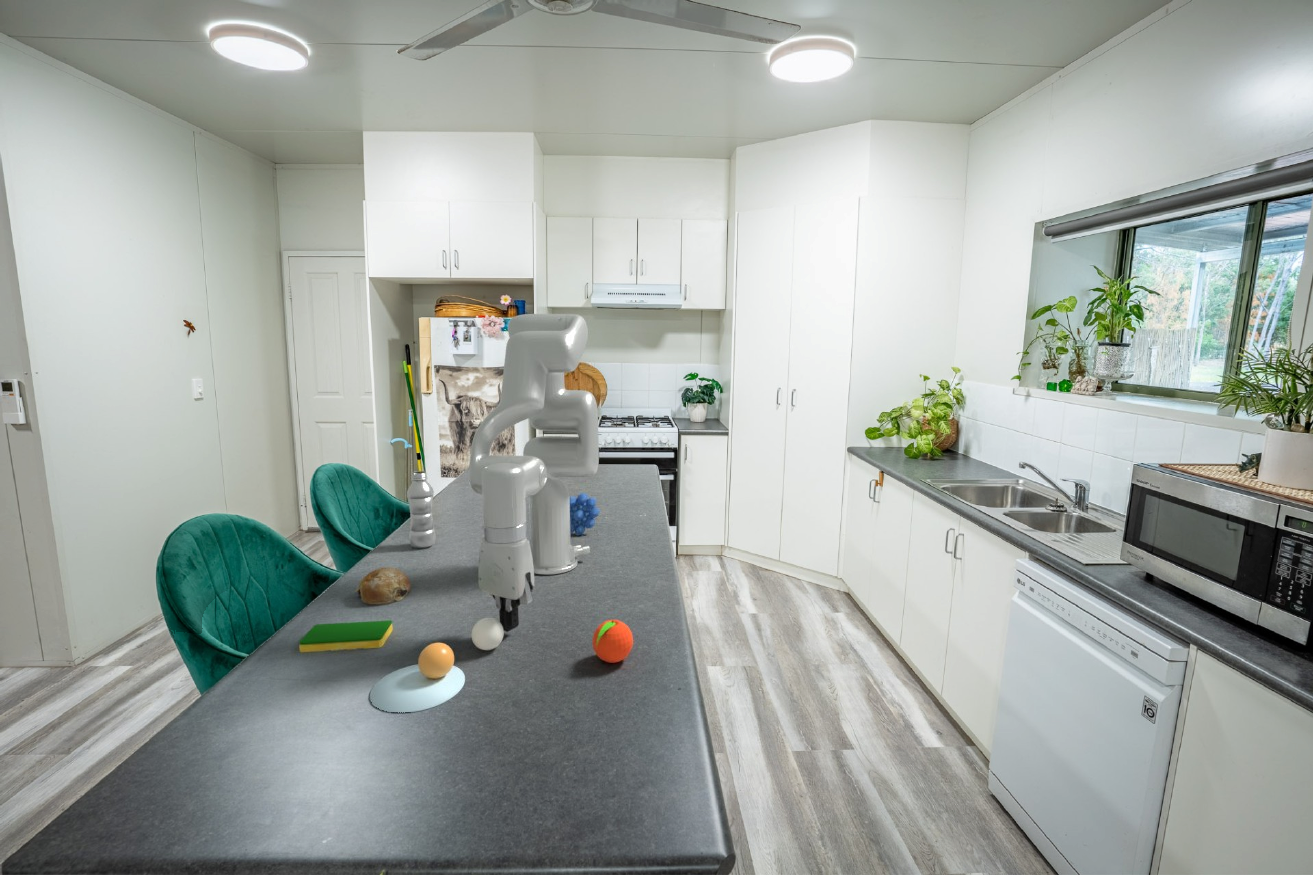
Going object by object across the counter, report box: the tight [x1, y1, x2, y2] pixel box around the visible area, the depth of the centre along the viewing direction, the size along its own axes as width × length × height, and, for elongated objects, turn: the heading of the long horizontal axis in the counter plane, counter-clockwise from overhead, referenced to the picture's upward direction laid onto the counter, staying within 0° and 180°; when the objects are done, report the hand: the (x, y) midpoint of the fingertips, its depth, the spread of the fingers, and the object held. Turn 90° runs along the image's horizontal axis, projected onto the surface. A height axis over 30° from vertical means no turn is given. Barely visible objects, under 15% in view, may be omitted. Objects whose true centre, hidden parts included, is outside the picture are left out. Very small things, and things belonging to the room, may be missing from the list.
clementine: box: [592, 619, 634, 664], centre depth 105 cm, size 8×7×7 cm
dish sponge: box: [298, 620, 394, 653], centre depth 113 cm, size 7×14×2 cm, turn 97°
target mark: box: [369, 663, 466, 714], centre depth 98 cm, size 14×14×1 cm
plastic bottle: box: [406, 470, 437, 549], centre depth 162 cm, size 6×7×20 cm
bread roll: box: [355, 567, 411, 606], centre depth 132 cm, size 10×10×8 cm
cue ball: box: [471, 617, 505, 651], centre depth 109 cm, size 6×6×6 cm
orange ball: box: [417, 642, 455, 679], centre depth 100 cm, size 6×6×6 cm
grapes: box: [569, 492, 600, 536], centre depth 173 cm, size 12×7×12 cm, turn 100°
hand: (509, 627), depth 114 cm, fingers closed
